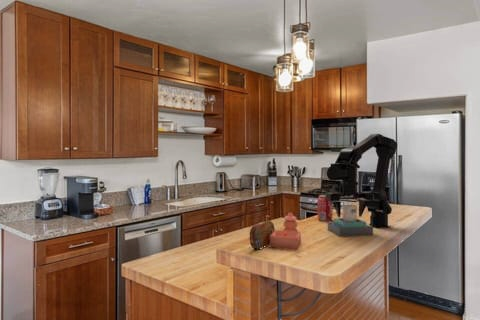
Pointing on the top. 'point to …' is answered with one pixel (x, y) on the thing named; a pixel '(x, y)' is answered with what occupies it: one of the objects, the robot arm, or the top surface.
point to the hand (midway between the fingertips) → (349, 217)
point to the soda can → (324, 208)
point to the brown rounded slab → (261, 234)
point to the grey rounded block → (349, 213)
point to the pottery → (286, 235)
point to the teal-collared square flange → (350, 228)
